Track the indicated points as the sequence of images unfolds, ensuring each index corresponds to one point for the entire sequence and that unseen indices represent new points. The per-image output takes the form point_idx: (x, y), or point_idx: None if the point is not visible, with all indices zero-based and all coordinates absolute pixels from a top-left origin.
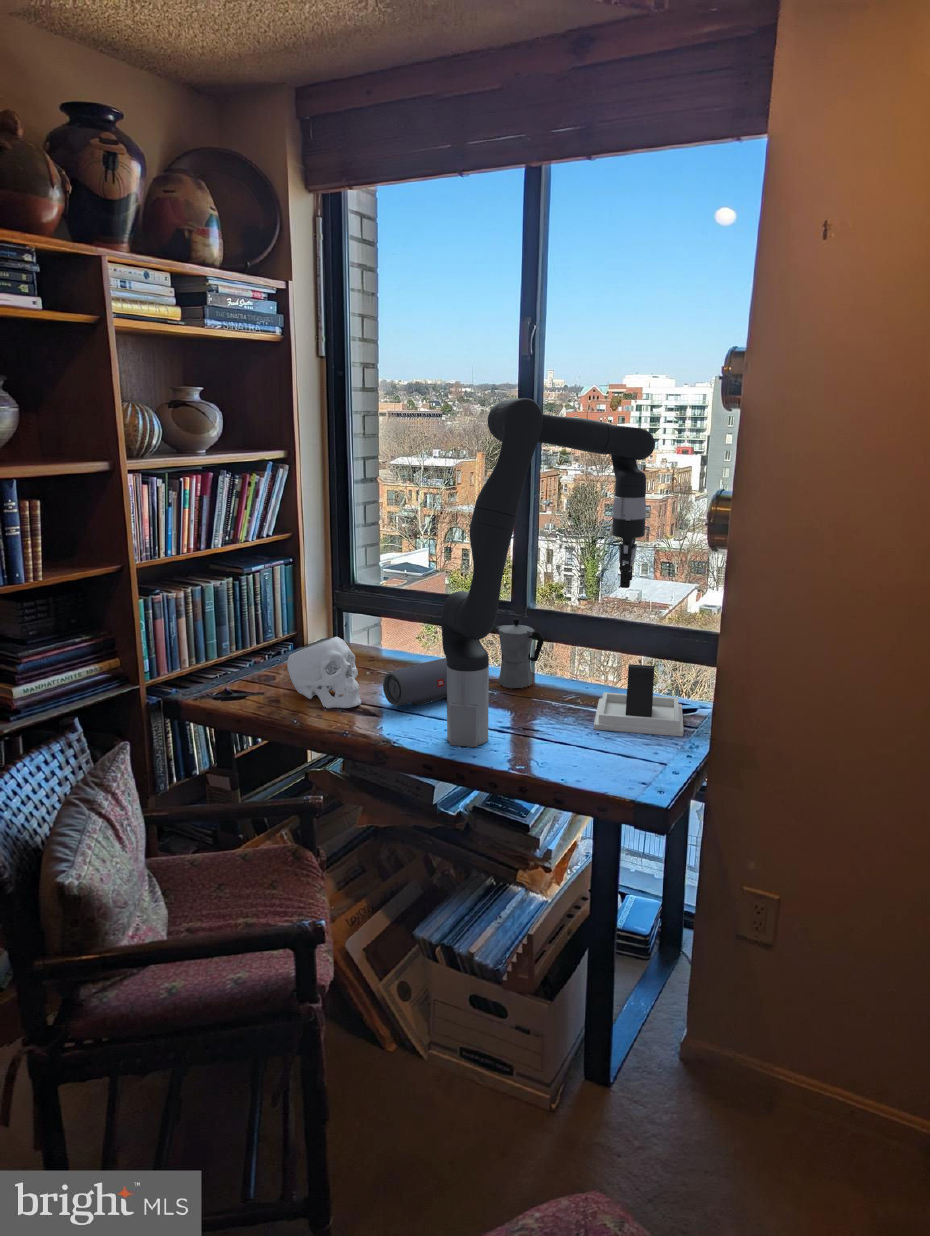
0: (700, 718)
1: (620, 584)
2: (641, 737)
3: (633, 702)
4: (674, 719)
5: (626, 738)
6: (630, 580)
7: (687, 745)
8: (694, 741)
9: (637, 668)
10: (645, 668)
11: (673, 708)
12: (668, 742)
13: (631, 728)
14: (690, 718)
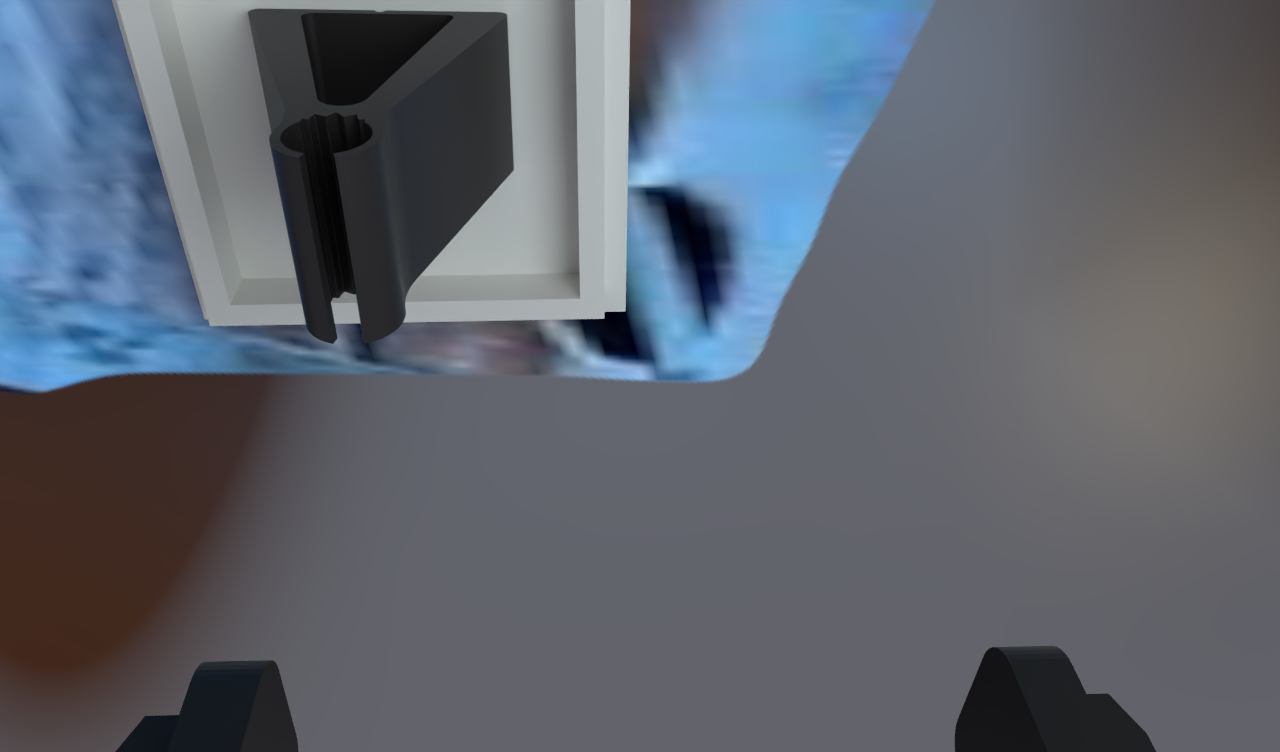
0: (507, 374)
1: (180, 713)
2: (88, 103)
3: (270, 97)
4: (226, 303)
5: (21, 16)
6: (958, 730)
7: (100, 320)
8: (172, 348)
9: (289, 222)
10: (305, 280)
11: (548, 273)
12: (91, 239)
13: (129, 51)
14: (493, 334)
